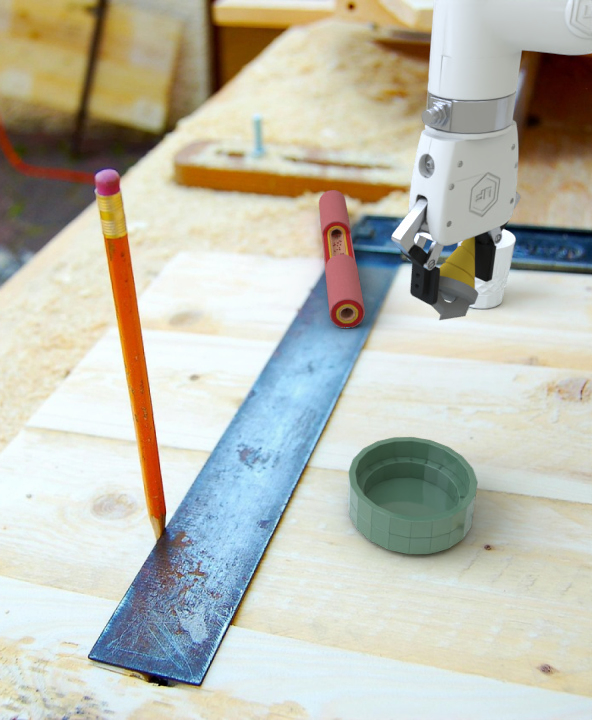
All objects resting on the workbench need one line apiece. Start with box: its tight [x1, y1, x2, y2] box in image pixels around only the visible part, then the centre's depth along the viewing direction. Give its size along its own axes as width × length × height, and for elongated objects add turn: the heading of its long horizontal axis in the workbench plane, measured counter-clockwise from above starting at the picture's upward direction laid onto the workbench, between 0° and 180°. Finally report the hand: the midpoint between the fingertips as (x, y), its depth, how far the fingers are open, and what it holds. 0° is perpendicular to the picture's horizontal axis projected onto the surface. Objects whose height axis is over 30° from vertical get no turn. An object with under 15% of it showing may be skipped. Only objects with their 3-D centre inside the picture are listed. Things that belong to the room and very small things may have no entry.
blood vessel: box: [318, 189, 366, 329], centre depth 126 cm, size 42×5×5 cm, turn 177°
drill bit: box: [430, 236, 478, 321], centre depth 77 cm, size 5×5×10 cm
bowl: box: [347, 436, 478, 555], centre depth 78 cm, size 12×12×5 cm
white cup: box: [456, 228, 517, 310], centre depth 112 cm, size 8×8×10 cm
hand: (451, 286), depth 78 cm, fingers closed on drill bit, 7 cm apart
